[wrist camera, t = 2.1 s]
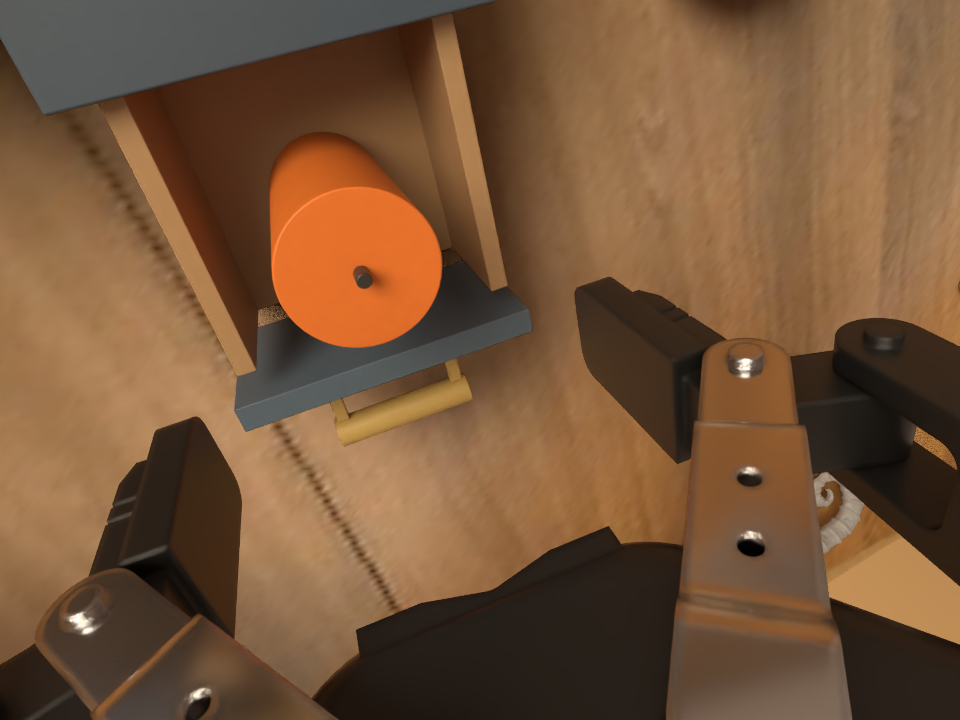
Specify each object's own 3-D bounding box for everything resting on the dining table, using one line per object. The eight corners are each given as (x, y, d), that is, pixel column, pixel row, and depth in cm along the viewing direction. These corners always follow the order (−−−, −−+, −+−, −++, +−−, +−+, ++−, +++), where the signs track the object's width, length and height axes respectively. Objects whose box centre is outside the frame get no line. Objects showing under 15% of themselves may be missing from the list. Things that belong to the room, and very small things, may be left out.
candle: (293, 256, 29) (310, 382, 19) (250, 149, 27) (241, 224, 16) (394, 225, 30) (465, 328, 20) (363, 118, 28) (425, 170, 17)
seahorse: (849, 432, 51) (674, 584, 48) (903, 530, 54) (740, 680, 51) (803, 420, 56) (642, 557, 53) (855, 510, 59) (704, 646, 56)
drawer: (496, 339, 36) (547, 405, 30) (280, 415, 34) (283, 504, 28) (403, -73, 26) (450, -111, 19) (79, 0, 24) (7, -14, 17)
